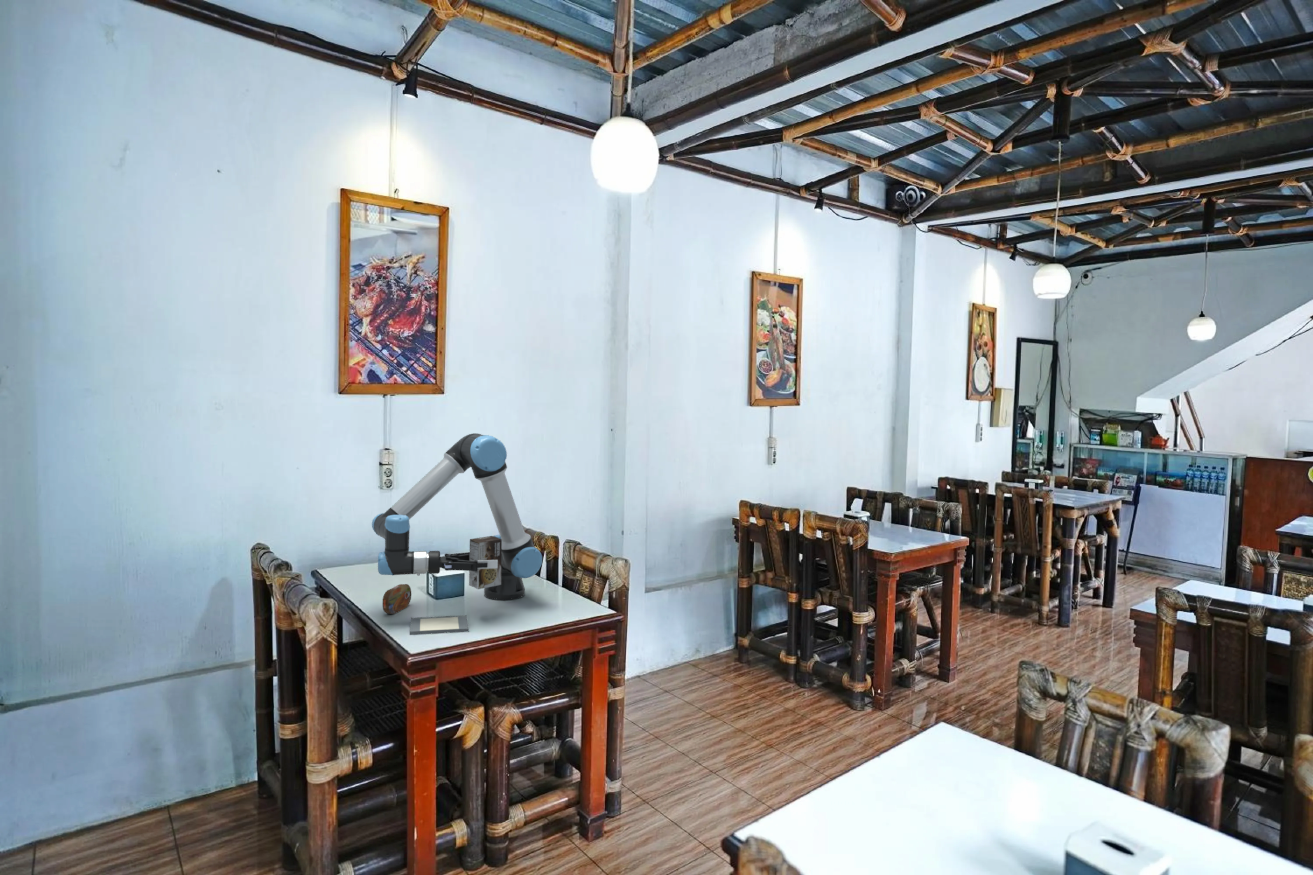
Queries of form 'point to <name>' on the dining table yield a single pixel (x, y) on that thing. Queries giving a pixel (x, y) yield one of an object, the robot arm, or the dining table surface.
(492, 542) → the coffee box
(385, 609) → the tin
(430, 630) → the mat
